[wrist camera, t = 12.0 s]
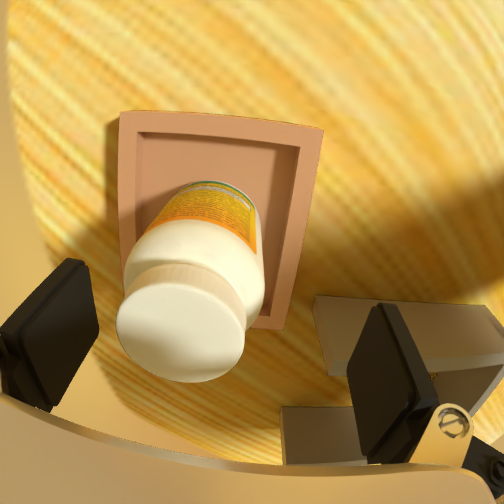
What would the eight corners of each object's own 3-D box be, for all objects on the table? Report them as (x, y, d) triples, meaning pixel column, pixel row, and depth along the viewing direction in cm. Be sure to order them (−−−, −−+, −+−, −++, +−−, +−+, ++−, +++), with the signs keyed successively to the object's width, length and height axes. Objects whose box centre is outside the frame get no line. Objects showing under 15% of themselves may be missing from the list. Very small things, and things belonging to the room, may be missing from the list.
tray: (132, 110, 15) (119, 112, 14) (316, 127, 16) (323, 130, 14) (133, 296, 21) (125, 311, 19) (281, 313, 21) (283, 330, 20)
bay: (315, 294, 21) (334, 360, 15) (485, 305, 21) (521, 350, 16) (279, 414, 26) (283, 470, 21) (422, 407, 27) (440, 451, 22)
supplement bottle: (271, 253, 19) (287, 382, 10) (185, 276, 19) (146, 404, 11) (243, 163, 16) (235, 238, 8) (150, 194, 17) (65, 288, 8)
